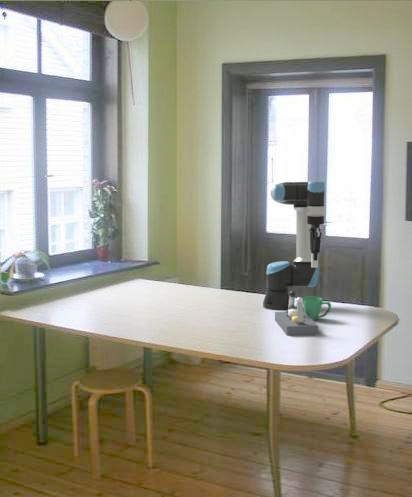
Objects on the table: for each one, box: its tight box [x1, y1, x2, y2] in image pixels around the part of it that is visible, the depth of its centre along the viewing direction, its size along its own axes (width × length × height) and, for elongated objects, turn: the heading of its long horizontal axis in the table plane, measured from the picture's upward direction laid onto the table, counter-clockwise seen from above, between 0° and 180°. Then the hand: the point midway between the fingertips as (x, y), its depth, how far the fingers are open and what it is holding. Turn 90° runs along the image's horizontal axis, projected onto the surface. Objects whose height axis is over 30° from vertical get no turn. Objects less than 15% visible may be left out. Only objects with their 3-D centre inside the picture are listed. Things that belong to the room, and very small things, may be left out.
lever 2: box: [295, 296, 304, 322], centre depth 323 cm, size 3×3×11 cm
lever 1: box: [287, 290, 297, 311], centre depth 340 cm, size 3×3×11 cm
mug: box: [301, 296, 332, 321], centre depth 346 cm, size 15×10×10 cm
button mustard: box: [292, 316, 298, 322], centre depth 329 cm, size 5×5×4 cm
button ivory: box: [287, 308, 297, 318], centre depth 336 cm, size 5×5×4 cm
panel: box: [274, 310, 319, 336], centre depth 332 cm, size 28×14×4 cm, turn 6°
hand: (314, 267), depth 327 cm, fingers closed
